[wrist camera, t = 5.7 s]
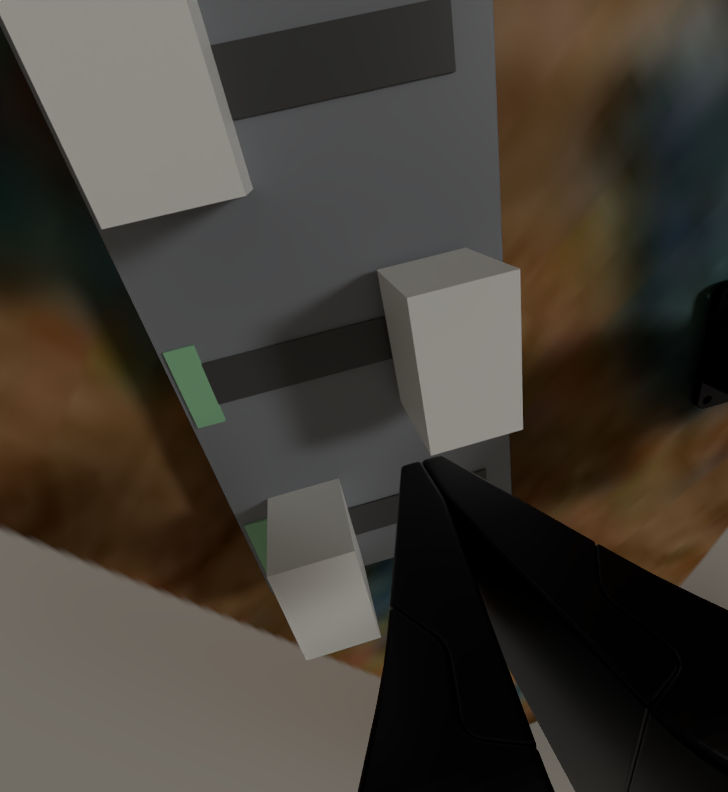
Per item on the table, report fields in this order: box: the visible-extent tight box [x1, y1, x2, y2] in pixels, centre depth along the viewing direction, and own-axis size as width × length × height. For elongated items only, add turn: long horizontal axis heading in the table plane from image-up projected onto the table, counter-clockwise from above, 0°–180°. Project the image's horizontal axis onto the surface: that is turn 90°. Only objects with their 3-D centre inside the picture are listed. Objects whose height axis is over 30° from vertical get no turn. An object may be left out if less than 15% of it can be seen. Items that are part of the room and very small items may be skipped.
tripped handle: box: [377, 248, 523, 456], centre depth 14 cm, size 3×5×4 cm, turn 12°
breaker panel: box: [0, 0, 512, 660], centre depth 14 cm, size 12×22×6 cm, turn 12°
